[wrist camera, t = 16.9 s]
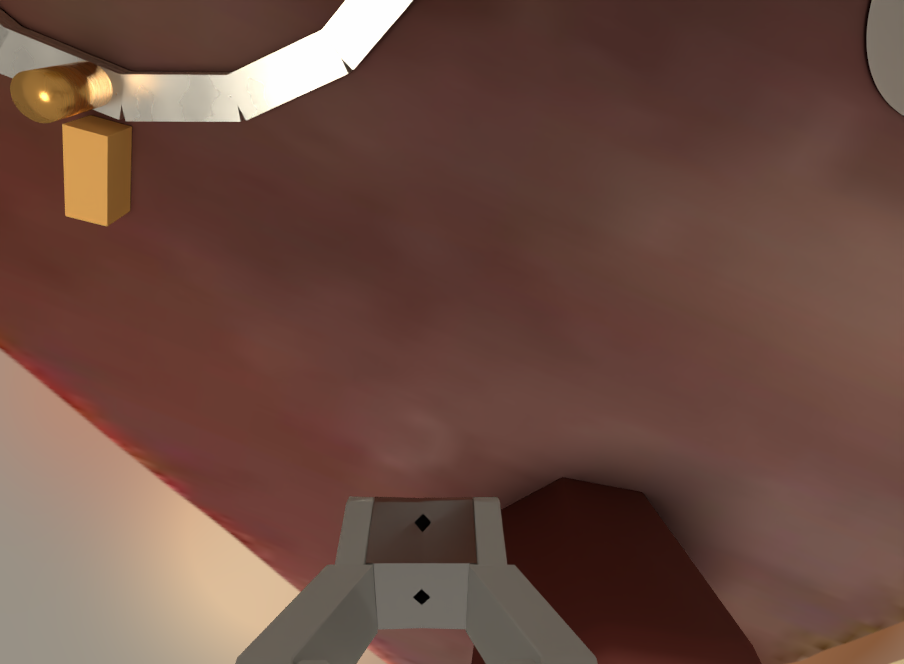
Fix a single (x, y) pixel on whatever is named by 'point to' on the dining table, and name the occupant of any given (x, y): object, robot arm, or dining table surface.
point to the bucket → (619, 577)
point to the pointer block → (97, 169)
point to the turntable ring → (186, 73)
